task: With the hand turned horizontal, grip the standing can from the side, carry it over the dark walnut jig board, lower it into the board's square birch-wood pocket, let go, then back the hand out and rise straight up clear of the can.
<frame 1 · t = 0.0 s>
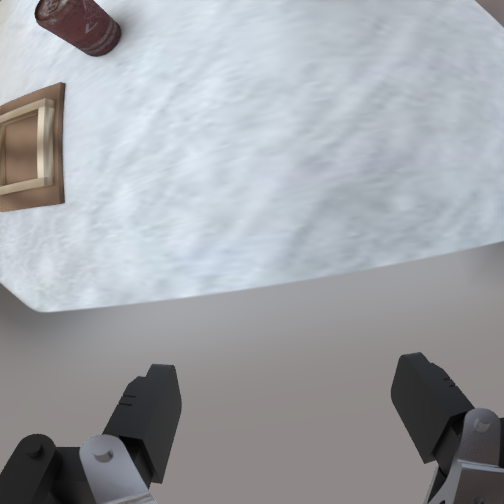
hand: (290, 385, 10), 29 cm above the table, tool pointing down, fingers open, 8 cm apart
can: (103, 39, 31), on the table
jig: (29, 149, 35), on the table
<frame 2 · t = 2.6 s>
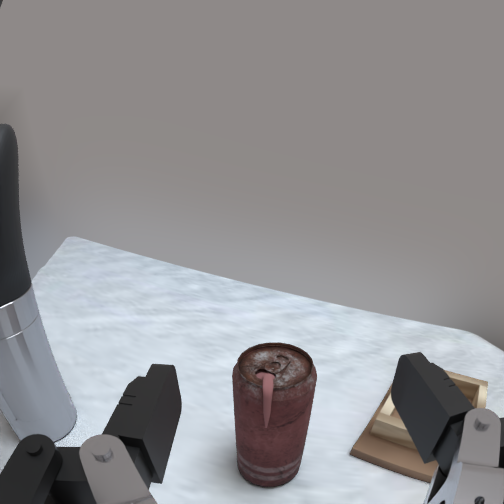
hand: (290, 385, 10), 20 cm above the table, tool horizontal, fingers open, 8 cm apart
can: (268, 467, 25), on the table
jig: (430, 421, 27), on the table
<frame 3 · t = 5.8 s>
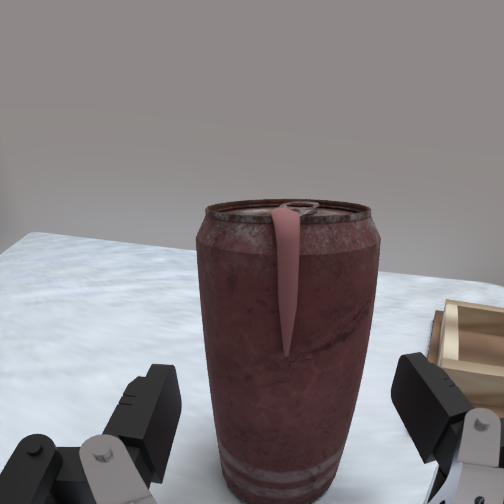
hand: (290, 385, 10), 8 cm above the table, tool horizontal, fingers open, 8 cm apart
can: (279, 473, 13), on the table
jig: (495, 373, 18), on the table
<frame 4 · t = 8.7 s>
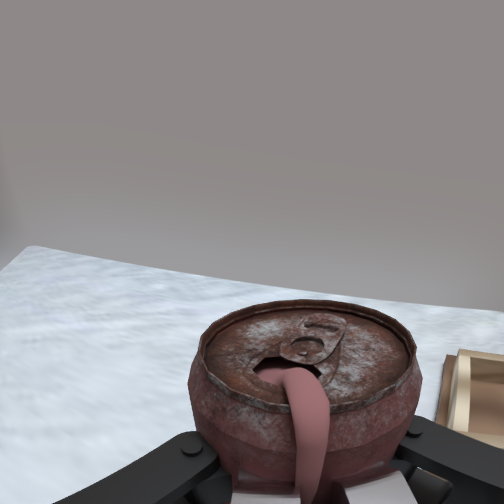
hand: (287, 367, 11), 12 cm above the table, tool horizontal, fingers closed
jig: (502, 427, 15), on the table
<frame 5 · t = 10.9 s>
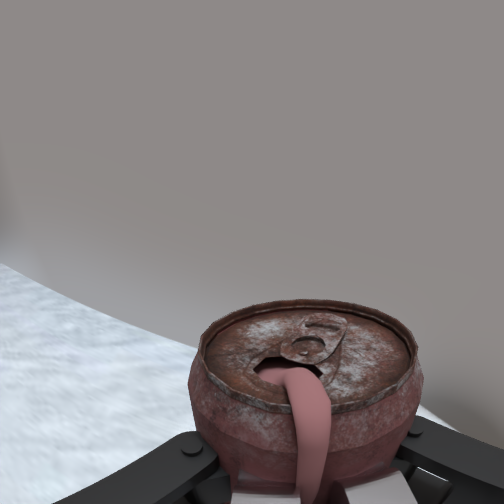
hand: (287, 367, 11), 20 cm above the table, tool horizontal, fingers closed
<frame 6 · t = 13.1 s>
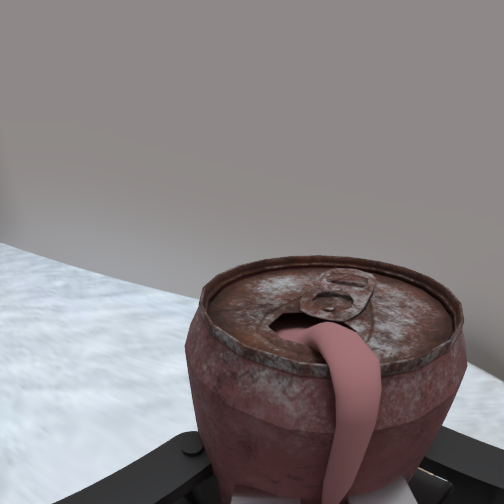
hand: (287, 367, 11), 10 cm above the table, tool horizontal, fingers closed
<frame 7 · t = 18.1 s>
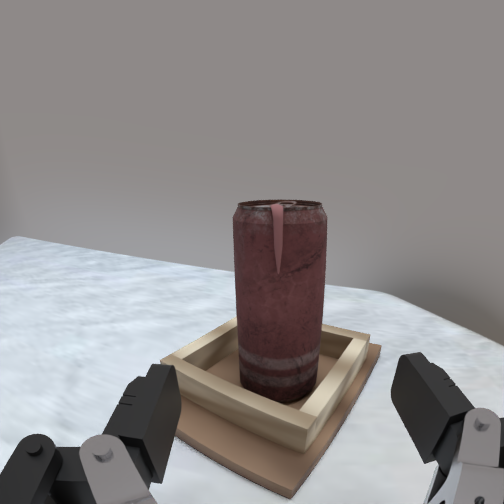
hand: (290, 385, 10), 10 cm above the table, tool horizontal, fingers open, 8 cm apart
can: (278, 384, 23), point 1 cm above the table, touching jig
jig: (272, 386, 24), on the table
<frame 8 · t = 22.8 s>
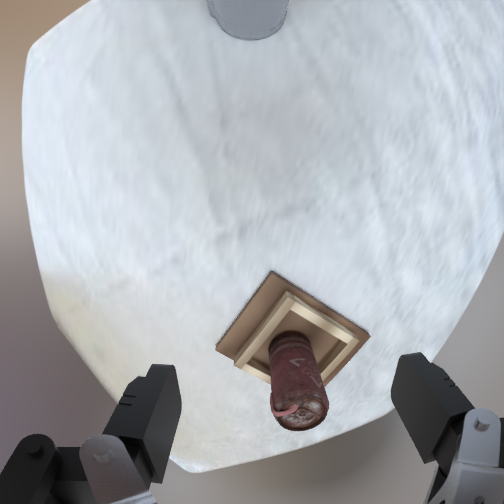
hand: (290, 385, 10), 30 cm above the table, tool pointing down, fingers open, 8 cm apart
can: (288, 347, 42), point 1 cm above the table, touching jig
jig: (294, 341, 43), on the table
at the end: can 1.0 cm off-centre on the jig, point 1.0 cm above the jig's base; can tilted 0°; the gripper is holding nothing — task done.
